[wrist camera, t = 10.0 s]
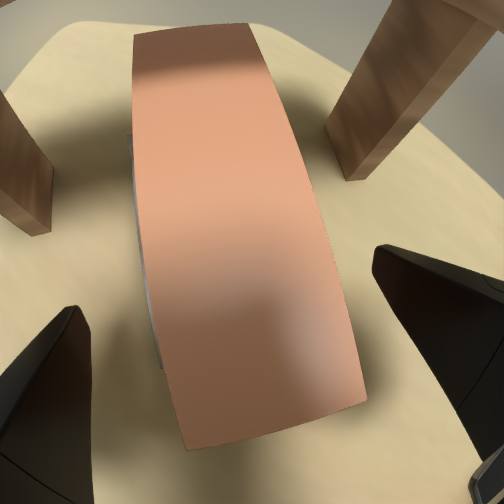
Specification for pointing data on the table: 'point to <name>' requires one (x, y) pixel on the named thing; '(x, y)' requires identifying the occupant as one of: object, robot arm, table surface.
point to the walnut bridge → (340, 120)
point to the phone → (488, 478)
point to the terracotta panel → (234, 243)
